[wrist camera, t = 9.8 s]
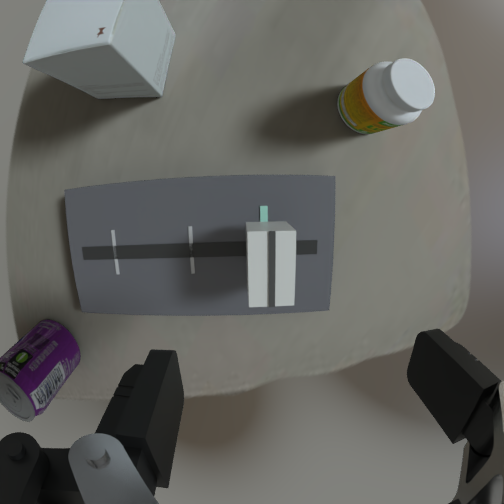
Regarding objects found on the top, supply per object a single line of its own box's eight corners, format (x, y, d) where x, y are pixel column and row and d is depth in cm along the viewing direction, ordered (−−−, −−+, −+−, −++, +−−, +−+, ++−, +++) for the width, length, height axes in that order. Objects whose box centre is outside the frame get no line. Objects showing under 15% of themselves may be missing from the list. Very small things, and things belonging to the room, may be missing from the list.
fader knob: (245, 219, 23) (247, 231, 18) (283, 218, 23) (296, 230, 18) (246, 279, 24) (249, 307, 19) (282, 278, 24) (294, 306, 19)
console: (79, 188, 25) (63, 189, 22) (325, 176, 26) (335, 176, 23) (94, 300, 28) (81, 312, 25) (320, 297, 29) (329, 310, 26)
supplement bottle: (351, 142, 25) (403, 128, 16) (326, 92, 24) (367, 56, 15) (393, 125, 25) (452, 109, 15) (370, 78, 24) (421, 45, 14)
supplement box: (178, 34, 22) (144, -41, 10) (162, 99, 23) (109, 46, 11) (111, 38, 21) (54, -19, 9) (95, 100, 23) (18, 65, 11)
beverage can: (51, 306, 28) (-9, 356, 16) (92, 348, 29) (45, 412, 18) (32, 336, 29) (-18, 385, 17) (69, 373, 30) (28, 432, 19)
